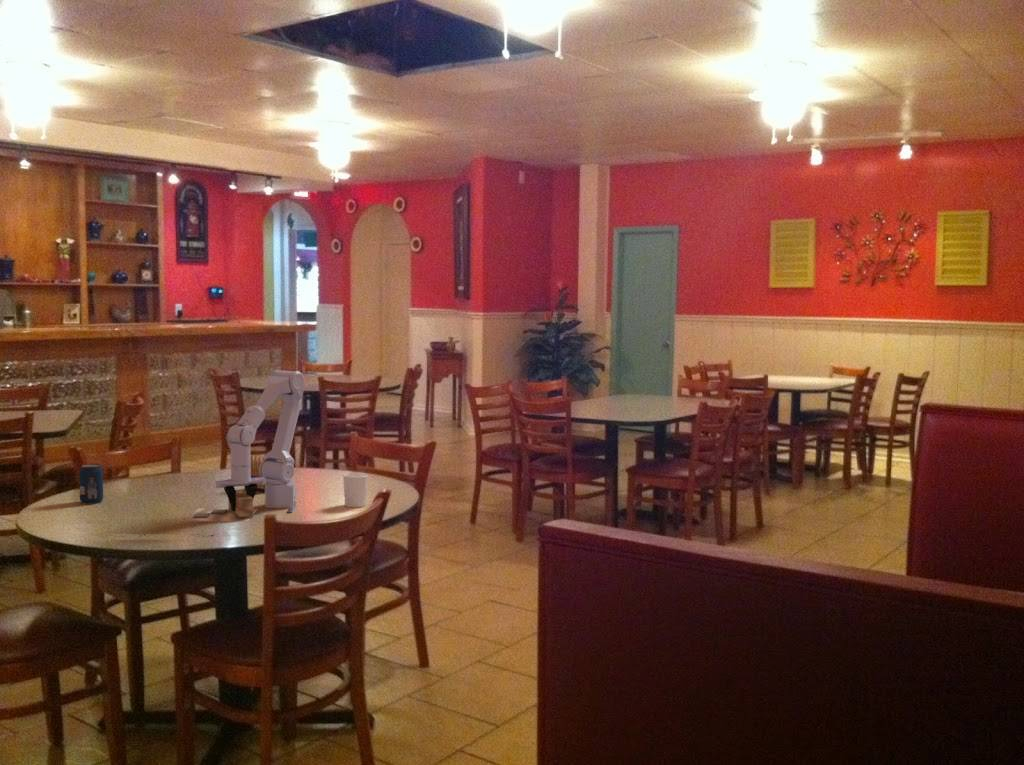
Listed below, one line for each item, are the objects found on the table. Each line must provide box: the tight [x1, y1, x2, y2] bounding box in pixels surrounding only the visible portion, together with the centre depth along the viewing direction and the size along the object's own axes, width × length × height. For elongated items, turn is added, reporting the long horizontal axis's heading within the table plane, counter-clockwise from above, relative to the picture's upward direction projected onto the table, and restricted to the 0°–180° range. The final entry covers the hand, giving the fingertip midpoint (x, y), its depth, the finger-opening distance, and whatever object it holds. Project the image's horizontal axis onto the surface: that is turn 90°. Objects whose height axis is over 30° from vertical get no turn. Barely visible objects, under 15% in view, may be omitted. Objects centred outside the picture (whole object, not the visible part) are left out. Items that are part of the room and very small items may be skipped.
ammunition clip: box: [244, 455, 265, 494], centre depth 345 cm, size 11×2×12 cm, turn 60°
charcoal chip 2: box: [211, 508, 228, 514], centre depth 306 cm, size 4×4×1 cm
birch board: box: [185, 508, 258, 522], centre depth 304 cm, size 18×16×2 cm
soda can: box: [78, 463, 104, 505], centre depth 323 cm, size 7×7×12 cm
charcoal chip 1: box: [194, 513, 210, 518], centre depth 301 cm, size 4×4×1 cm
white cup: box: [342, 472, 369, 508], centre depth 326 cm, size 8×8×10 cm
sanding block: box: [227, 490, 254, 519], centre depth 304 cm, size 4×12×6 cm, turn 31°
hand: (241, 509), depth 304 cm, fingers closed on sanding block, 4 cm apart
